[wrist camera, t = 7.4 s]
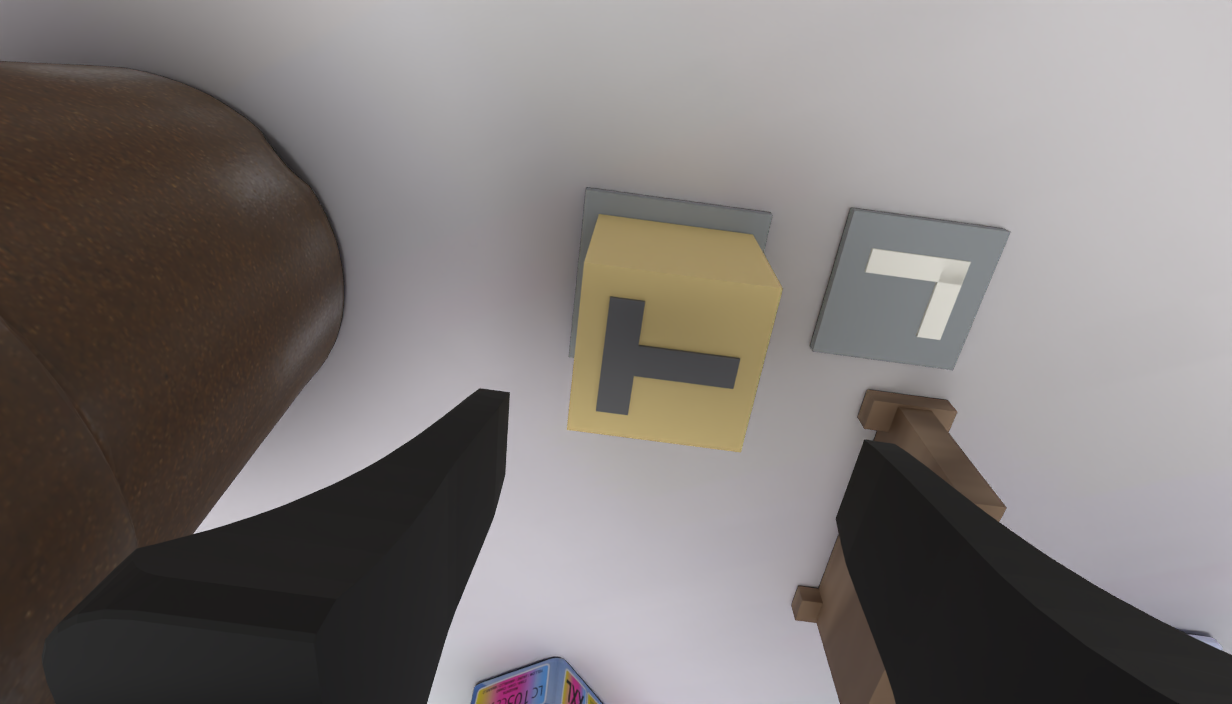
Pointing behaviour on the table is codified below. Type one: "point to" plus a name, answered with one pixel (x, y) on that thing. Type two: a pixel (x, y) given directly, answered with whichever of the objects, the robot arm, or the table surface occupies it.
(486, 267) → the table surface
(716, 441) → the letter cube
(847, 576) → the walnut screen
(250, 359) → the plant pot
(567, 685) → the ink cartridge box
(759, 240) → the mat
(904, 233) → the mat
